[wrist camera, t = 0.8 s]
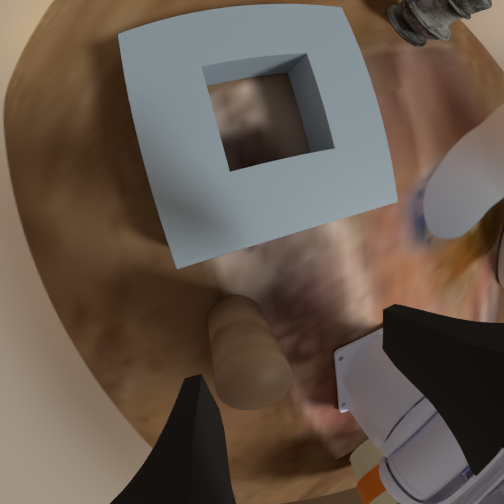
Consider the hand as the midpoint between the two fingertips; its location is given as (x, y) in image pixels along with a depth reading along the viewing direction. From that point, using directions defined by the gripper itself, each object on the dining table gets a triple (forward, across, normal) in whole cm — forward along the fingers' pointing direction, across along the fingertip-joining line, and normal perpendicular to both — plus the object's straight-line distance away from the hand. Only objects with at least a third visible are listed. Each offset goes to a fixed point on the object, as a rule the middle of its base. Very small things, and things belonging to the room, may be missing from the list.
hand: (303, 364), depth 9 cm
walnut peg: (+10, +2, +3) cm, 11 cm away
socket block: (+10, -3, -10) cm, 14 cm away
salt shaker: (+10, -21, -19) cm, 30 cm away
